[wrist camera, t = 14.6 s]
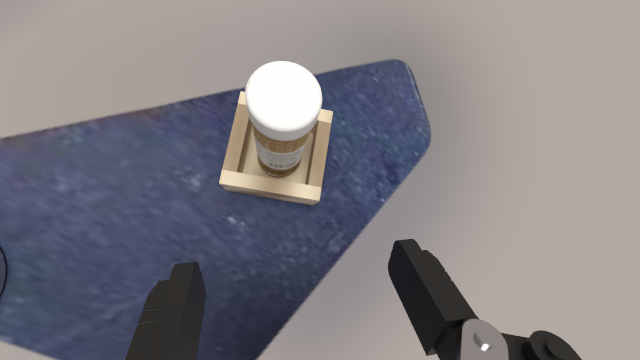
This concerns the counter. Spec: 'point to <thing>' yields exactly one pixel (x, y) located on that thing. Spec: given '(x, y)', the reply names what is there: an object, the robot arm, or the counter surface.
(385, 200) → the counter surface
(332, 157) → the counter surface
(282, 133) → the sprinkles bottle
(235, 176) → the socket block
